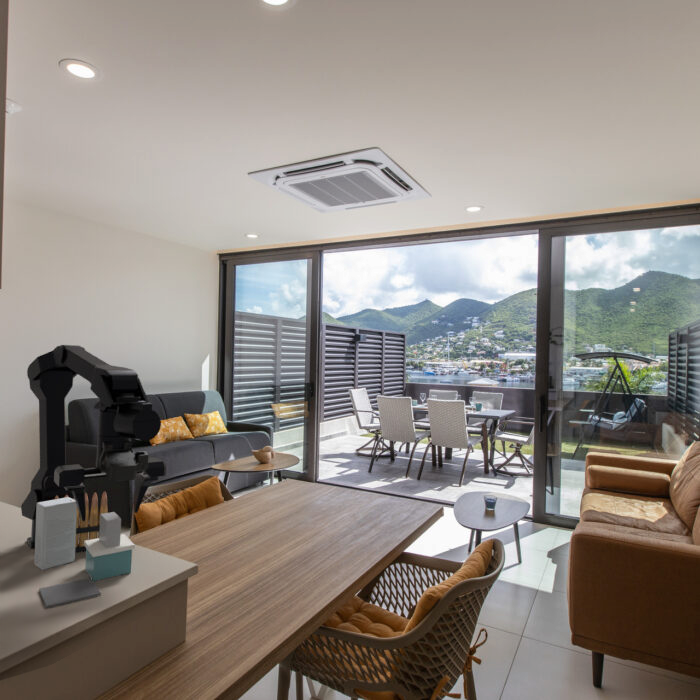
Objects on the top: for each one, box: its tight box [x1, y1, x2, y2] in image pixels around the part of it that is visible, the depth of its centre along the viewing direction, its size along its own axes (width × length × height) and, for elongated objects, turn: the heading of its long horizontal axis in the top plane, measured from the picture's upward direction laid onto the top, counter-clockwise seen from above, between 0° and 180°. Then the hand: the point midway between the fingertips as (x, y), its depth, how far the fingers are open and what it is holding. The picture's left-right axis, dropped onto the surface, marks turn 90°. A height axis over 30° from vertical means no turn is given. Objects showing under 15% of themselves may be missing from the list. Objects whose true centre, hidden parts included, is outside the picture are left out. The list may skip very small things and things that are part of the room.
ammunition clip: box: [54, 491, 109, 554], centre depth 104 cm, size 11×2×12 cm, turn 120°
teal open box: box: [84, 548, 133, 582], centre depth 95 cm, size 6×6×4 cm
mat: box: [38, 576, 102, 609], centre depth 86 cm, size 8×8×1 cm
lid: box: [84, 511, 136, 557], centre depth 96 cm, size 7×7×6 cm
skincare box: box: [34, 497, 77, 571], centre depth 98 cm, size 6×4×12 cm
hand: (110, 516), depth 96 cm, fingers open, 9 cm apart
